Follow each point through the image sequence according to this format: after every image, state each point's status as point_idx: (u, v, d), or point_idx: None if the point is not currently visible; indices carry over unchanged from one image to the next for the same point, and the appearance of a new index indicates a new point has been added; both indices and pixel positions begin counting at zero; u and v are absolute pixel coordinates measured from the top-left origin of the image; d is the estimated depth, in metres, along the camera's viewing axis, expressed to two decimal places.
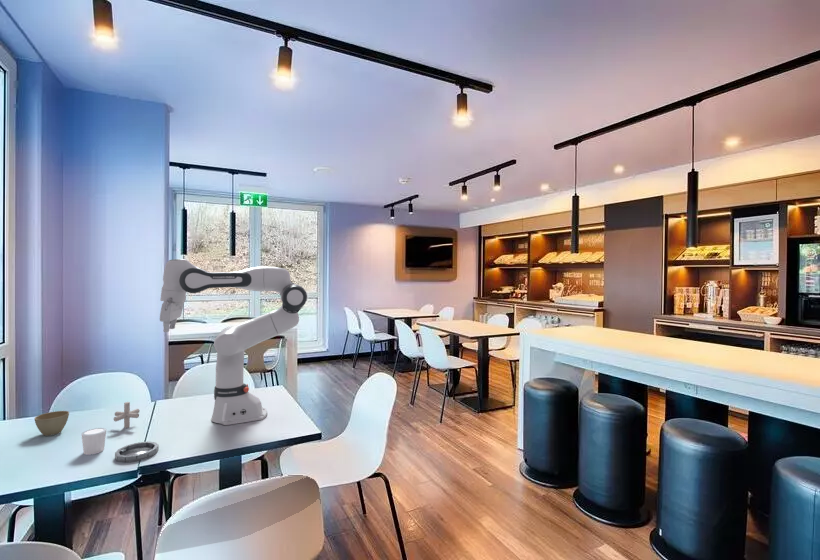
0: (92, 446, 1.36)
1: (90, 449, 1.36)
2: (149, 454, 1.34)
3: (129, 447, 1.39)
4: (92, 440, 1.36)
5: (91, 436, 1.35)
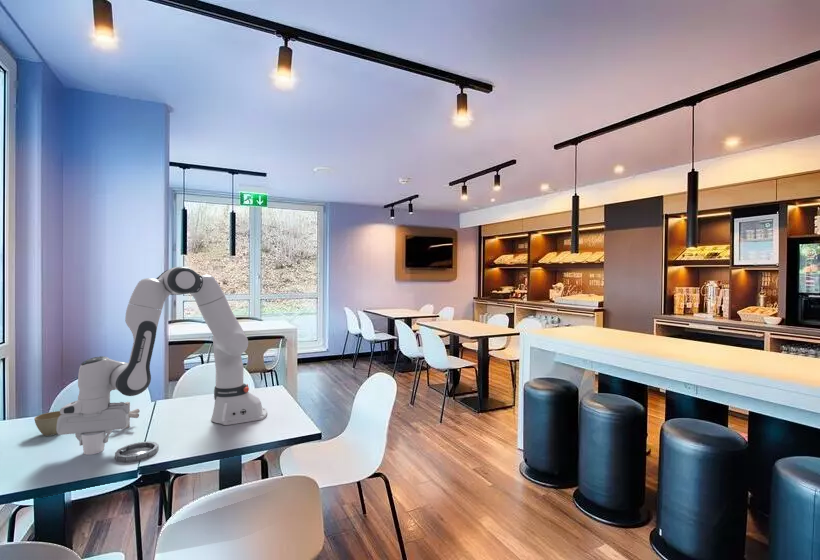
0: (92, 446, 1.36)
1: (90, 449, 1.36)
2: (149, 454, 1.34)
3: (129, 447, 1.39)
4: (92, 440, 1.36)
5: (91, 436, 1.35)
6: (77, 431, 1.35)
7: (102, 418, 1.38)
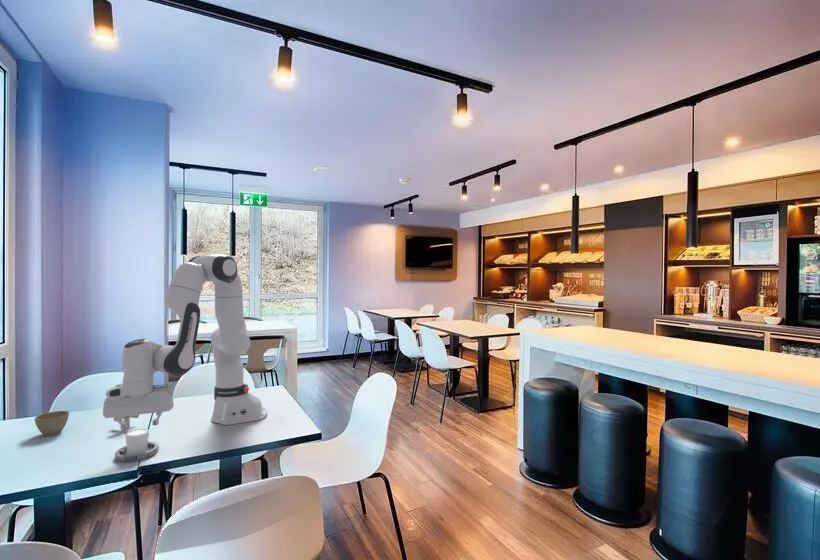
0: (136, 447, 1.34)
1: (134, 450, 1.34)
2: (149, 454, 1.34)
3: None
4: (137, 441, 1.34)
5: (135, 437, 1.34)
6: (123, 414, 1.34)
7: (147, 400, 1.36)
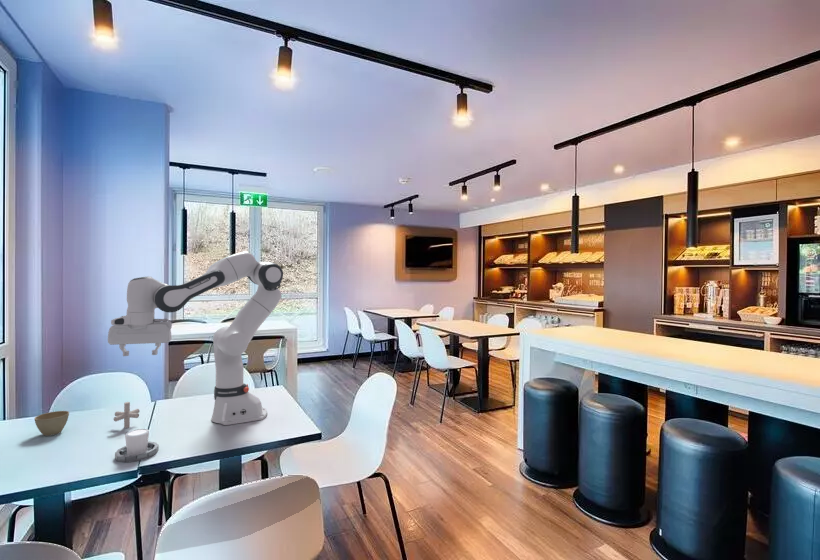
0: (136, 447, 1.34)
1: (134, 450, 1.34)
2: (149, 454, 1.34)
3: None
4: (137, 442, 1.34)
5: (135, 437, 1.34)
6: (126, 342, 1.48)
7: (148, 331, 1.51)
